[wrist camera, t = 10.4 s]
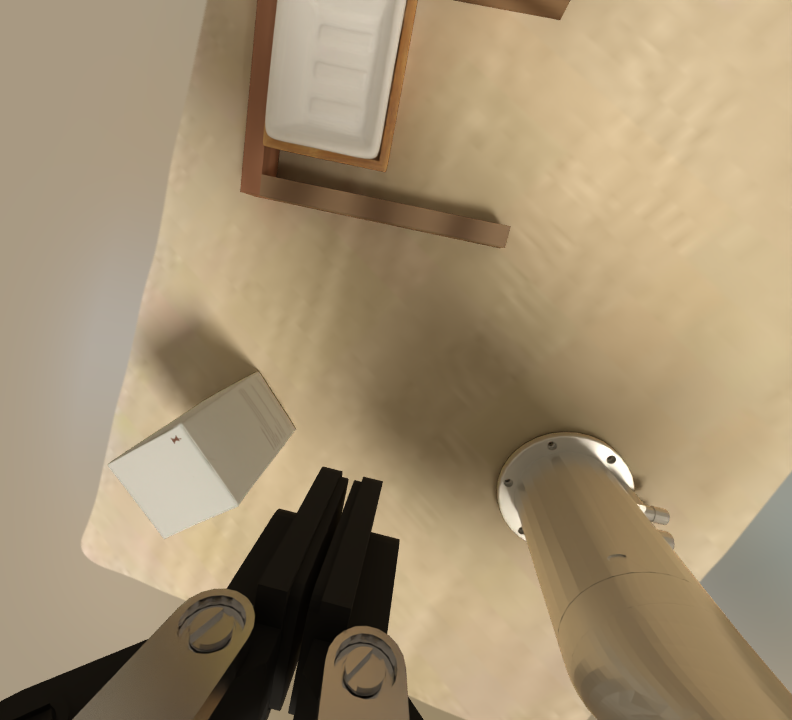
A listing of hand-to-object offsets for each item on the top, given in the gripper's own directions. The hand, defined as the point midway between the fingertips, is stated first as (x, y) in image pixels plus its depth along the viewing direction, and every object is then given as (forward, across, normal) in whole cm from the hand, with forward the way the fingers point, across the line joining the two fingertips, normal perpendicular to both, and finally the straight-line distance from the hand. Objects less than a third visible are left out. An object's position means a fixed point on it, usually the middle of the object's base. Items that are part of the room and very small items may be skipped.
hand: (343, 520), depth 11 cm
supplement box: (+27, +14, +12) cm, 33 cm away
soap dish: (+27, +9, -18) cm, 34 cm away
